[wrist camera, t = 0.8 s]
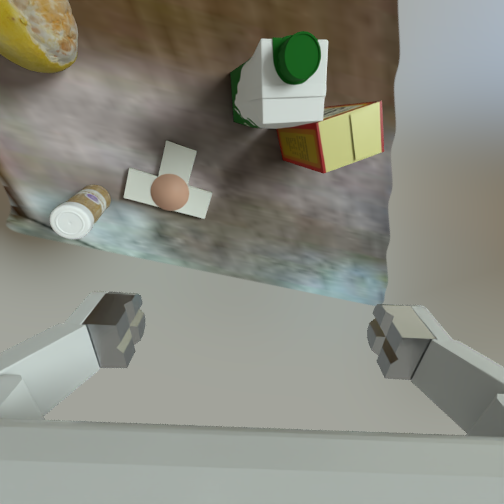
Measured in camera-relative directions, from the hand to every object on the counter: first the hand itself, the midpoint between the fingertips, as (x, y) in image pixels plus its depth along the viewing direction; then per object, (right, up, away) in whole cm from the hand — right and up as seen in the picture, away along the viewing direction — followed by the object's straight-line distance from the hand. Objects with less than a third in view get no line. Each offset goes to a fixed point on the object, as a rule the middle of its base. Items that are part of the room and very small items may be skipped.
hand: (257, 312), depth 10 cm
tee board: (-14, +15, +38) cm, 43 cm away
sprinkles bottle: (-26, +11, +36) cm, 46 cm away
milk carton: (0, +28, +36) cm, 46 cm away
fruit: (-28, +31, +27) cm, 49 cm away
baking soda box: (+9, +24, +41) cm, 48 cm away
